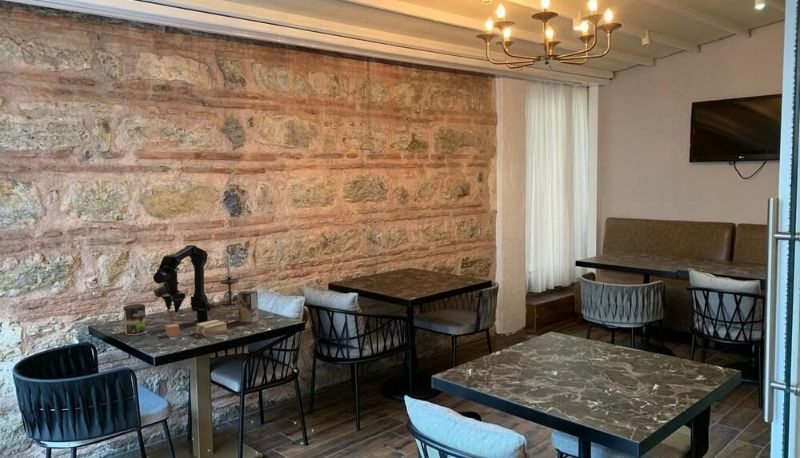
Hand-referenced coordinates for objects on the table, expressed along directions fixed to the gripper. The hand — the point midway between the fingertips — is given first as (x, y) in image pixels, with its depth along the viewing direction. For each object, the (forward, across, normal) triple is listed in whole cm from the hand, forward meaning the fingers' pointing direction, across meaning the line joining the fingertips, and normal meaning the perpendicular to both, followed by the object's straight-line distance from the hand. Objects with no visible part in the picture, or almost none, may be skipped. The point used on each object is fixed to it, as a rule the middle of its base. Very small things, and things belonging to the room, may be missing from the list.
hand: (172, 311), depth 292 cm
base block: (+12, +10, +16) cm, 22 cm away
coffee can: (+13, -19, -11) cm, 26 cm away
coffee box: (+12, +3, +41) cm, 43 cm away
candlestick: (+10, -42, +54) cm, 69 cm away
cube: (+13, -1, 0) cm, 13 cm away
